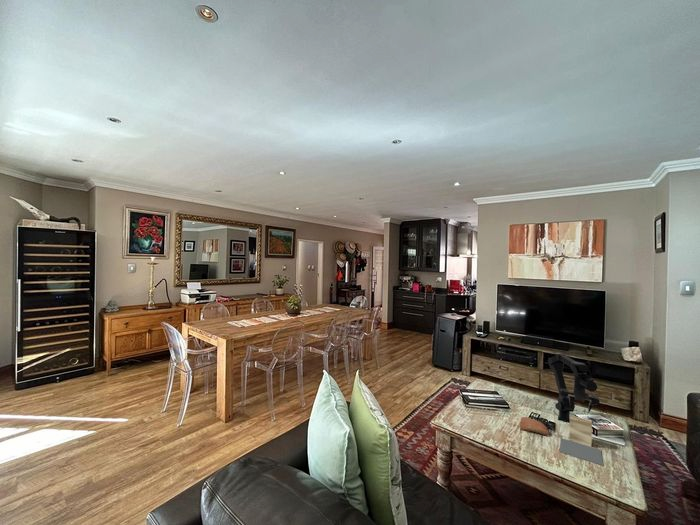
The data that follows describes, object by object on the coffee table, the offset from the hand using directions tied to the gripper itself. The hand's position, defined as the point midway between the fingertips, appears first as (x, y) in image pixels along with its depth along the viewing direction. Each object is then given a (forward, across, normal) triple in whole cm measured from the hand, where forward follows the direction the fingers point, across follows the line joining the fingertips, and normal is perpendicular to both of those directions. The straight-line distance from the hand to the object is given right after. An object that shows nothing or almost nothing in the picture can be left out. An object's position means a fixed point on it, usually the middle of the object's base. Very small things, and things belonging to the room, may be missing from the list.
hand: (579, 410), depth 185 cm
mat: (+13, +1, -24) cm, 27 cm away
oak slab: (+13, +1, -13) cm, 18 cm away
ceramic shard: (+14, -22, -13) cm, 29 cm away
